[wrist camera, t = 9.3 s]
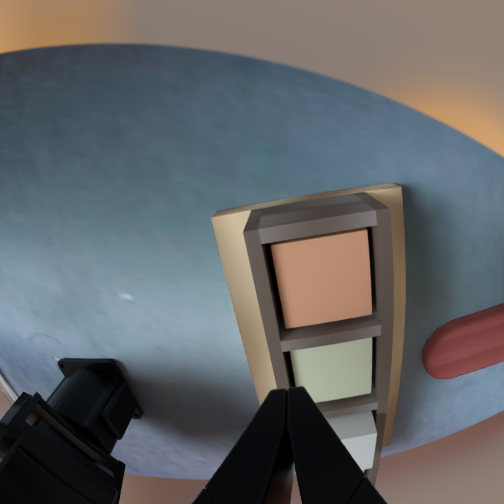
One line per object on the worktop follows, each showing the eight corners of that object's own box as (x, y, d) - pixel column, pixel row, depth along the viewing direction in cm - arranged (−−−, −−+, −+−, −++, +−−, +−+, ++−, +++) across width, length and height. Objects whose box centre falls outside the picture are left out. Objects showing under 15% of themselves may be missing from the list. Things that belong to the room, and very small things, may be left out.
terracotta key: (285, 298, 17) (285, 328, 14) (272, 226, 16) (270, 245, 13) (357, 286, 16) (372, 314, 14) (351, 213, 15) (367, 230, 12)
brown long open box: (276, 449, 24) (274, 499, 19) (216, 211, 18) (191, 241, 13) (386, 432, 23) (399, 479, 18) (391, 182, 16) (435, 201, 11)
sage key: (297, 370, 19) (298, 404, 16) (288, 316, 17) (289, 349, 15) (360, 360, 18) (371, 392, 15) (359, 305, 17) (372, 335, 14)
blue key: (306, 443, 18) (307, 478, 15) (300, 406, 17) (302, 445, 14) (364, 433, 18) (372, 468, 15) (366, 395, 16) (377, 432, 14)
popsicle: (552, 340, 18) (422, 389, 20) (543, 332, 19) (416, 376, 21) (566, 289, 16) (431, 333, 18) (556, 282, 17) (423, 321, 20)
